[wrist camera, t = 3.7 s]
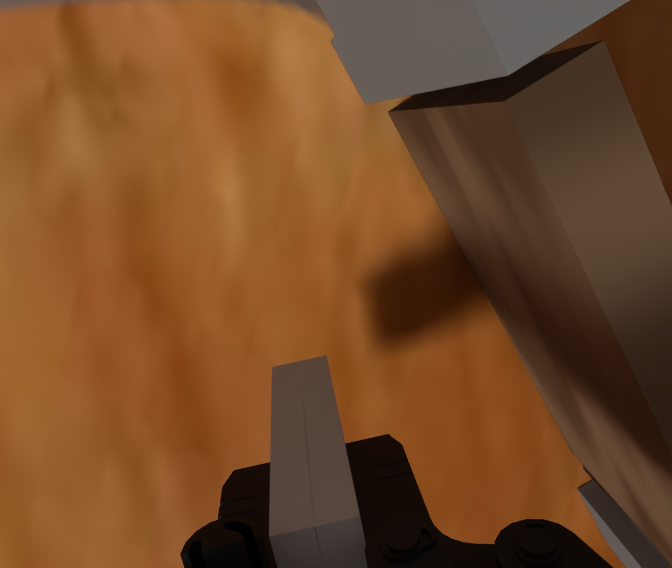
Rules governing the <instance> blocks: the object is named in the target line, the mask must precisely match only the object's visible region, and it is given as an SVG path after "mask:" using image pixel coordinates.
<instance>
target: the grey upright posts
mask: <svg viewBox="0 0 672 568" xmlns="http://www.w3.org/2000/svg"><path fill="white" fill-rule="evenodd" d="M316 1H317V3H318V4H319V6H320V8H321V10H322V12H323V14H324V15H325V17H326V19H327V21H328V23H329V25H330V26H331V28H332V30H333V32H334V34H335V35H334V37H333V38H332V40H331V43H332V45H333V47H334V48H335V50H336V52H337V54H338V56H339V57H340V59H341V61H342V63H343V65H344V67H345V68H346V70H347V72H348V74H349V76H350V77H351V79H352V81H353V83H354V85H355V86H356V88H357V90H358V92H359V94H360V96H361V97H362V99H363V101H364V103H365V104H369V103H374V102H379V101H384V100H389V99H394V98H399V97H404V96H409V95H414V94H419V93H424V92H429V91H434V90H439V89H444V88H448V87H453V86H458V85H463V84H468V83H473V82H478V81H483V80H488V79H493V78H498V77H503V76H508V75H510V74H511V73H513V72H515V71H516V70H518V69H519V68H521V67H523V66H524V65H526V64H528V63H529V62H531V61H532V60H534V59H536V58H537V57H539V56H541V55H542V54H544V53H545V52H547V51H549V50H550V49H552V48H554V47H555V46H557V45H558V44H560V43H562V42H563V41H565V40H566V39H568V38H570V37H571V36H573V35H575V34H576V33H578V32H579V31H581V30H583V29H584V28H586V27H588V26H589V25H591V24H592V23H594V22H596V21H597V20H599V19H601V18H602V17H604V16H605V15H607V14H609V13H610V12H612V11H613V10H615V9H617V8H618V7H620V6H622V5H623V4H625V3H626V2H628V1H630V0H316ZM578 491H579V493H580V495H581V497H582V498H583V500H584V502H585V504H586V506H587V507H588V509H589V511H590V513H591V515H592V516H593V518H594V520H595V522H596V524H597V526H598V527H599V529H600V531H601V533H602V535H603V536H604V538H605V540H606V542H607V544H608V545H609V546H610V547H611V549H612V550H613V551H614V553H615V554H616V555H617V556H618V558H619V559H620V560H621V562H622V563H623V564H624V565H625V567H626V568H670V567H669V565H668V564H667V563H666V562H665V561H664V560H663V559H662V557H661V556H660V555H659V554H658V553H657V552H656V551H655V549H654V548H653V547H652V546H651V545H650V544H649V543H648V542H647V540H646V539H645V538H644V537H643V536H642V535H641V534H640V532H639V531H638V530H637V529H636V528H635V527H634V526H633V525H632V523H631V522H630V521H629V520H628V519H627V518H626V517H625V515H624V514H623V513H622V512H621V511H620V510H619V509H618V507H617V506H616V505H615V504H614V503H613V502H612V501H611V500H610V498H609V497H608V496H607V495H606V494H605V493H604V492H603V490H602V489H601V488H600V487H599V486H598V485H597V484H596V483H595V481H594V480H592V481H590V482H588V483H586V484H585V485H583V486H581V487H579V488H578Z"/></svg>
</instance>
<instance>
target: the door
mask: <svg viewBox="0 0 672 568" xmlns="http://www.w3.org/2000/svg"><path fill="white" fill-rule="evenodd" d="M388 114H389V116H390V117H391V119H392V121H393V123H394V125H395V127H396V128H397V130H398V132H399V134H400V136H401V138H402V140H403V141H404V143H405V145H406V147H407V149H408V151H409V152H410V154H411V156H412V158H413V160H414V162H415V164H416V165H417V167H418V169H419V171H420V173H421V175H422V176H423V178H424V180H425V182H426V184H427V186H428V188H429V189H430V191H431V193H432V195H433V197H434V199H435V200H436V202H437V204H438V206H439V208H440V210H441V212H442V213H443V215H444V217H445V219H446V221H447V223H448V224H449V226H450V228H451V230H452V232H453V234H454V236H455V237H456V239H457V241H458V243H459V245H460V247H461V249H462V250H463V252H464V254H465V256H466V258H467V260H468V261H469V263H470V265H471V267H472V269H473V271H474V273H475V274H476V276H477V278H478V280H479V282H480V284H481V285H482V287H483V289H484V291H485V293H486V295H487V297H488V298H489V300H490V302H491V304H492V306H493V308H494V309H495V311H496V313H497V315H498V317H499V319H500V321H501V322H502V324H503V326H504V328H505V330H506V332H507V333H508V335H509V337H510V339H511V341H512V343H513V345H514V346H515V348H516V350H517V352H518V354H519V356H520V358H521V359H522V361H523V363H524V365H525V367H526V369H527V370H528V372H529V374H530V376H531V378H532V380H533V382H534V383H535V385H536V387H537V389H538V391H539V393H540V394H541V396H542V398H543V400H544V402H545V404H546V406H547V407H548V409H549V411H550V413H551V415H552V417H553V418H554V420H555V422H556V424H557V426H558V428H559V430H560V431H561V433H562V435H563V437H564V439H565V441H566V442H567V444H568V446H569V448H570V450H571V452H572V453H573V454H574V455H575V456H576V458H577V459H578V460H579V461H580V462H581V463H582V464H583V468H584V470H585V471H586V472H587V473H588V475H589V476H590V477H591V478H592V479H593V480H594V481H595V483H596V484H597V485H598V486H599V487H600V488H601V489H602V490H603V492H604V493H605V494H606V495H607V496H608V497H609V498H610V500H611V501H612V502H613V503H614V504H615V505H616V506H617V507H618V509H619V510H620V511H621V512H622V513H623V514H624V515H625V517H626V518H627V519H628V520H629V521H630V522H631V523H632V525H633V526H634V527H635V528H636V529H637V530H638V531H639V532H640V534H641V535H642V536H643V537H644V538H645V539H646V540H647V542H648V543H649V544H650V545H651V546H652V547H653V548H654V549H655V551H656V552H657V553H658V554H659V555H660V556H661V557H662V559H663V560H664V561H665V562H666V563H667V564H668V565H669V567H670V568H672V206H671V203H670V201H669V198H668V196H667V193H666V191H665V188H664V186H663V183H662V181H661V179H660V176H659V174H658V171H657V169H656V166H655V164H654V161H653V159H652V156H651V154H650V152H649V149H648V147H647V144H646V142H645V139H644V137H643V134H642V132H641V129H640V127H639V124H638V122H637V120H636V117H635V115H634V112H633V110H632V107H631V105H630V102H629V100H628V97H627V95H626V93H625V90H624V88H623V85H622V83H621V80H620V78H619V75H618V73H617V70H616V68H615V65H614V63H613V61H612V58H611V56H610V53H609V51H608V48H607V46H606V43H605V41H604V40H602V41H598V42H594V43H590V44H586V45H582V46H578V47H574V48H570V49H566V50H563V51H559V52H555V53H551V54H547V55H543V56H539V57H537V58H536V59H534V60H532V61H531V62H529V63H528V64H526V65H524V66H523V67H521V68H519V69H518V70H516V71H515V72H513V73H511V74H510V75H508V76H503V77H498V78H493V79H488V80H483V81H478V82H473V83H468V84H463V85H458V86H453V87H448V88H444V89H439V90H434V91H429V92H424V93H419V94H416V95H414V96H412V97H411V98H409V99H408V100H406V101H404V102H403V103H401V104H399V105H398V106H396V107H395V108H393V109H391V110H390V111H388Z"/></svg>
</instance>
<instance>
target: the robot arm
mask: <svg viewBox="0 0 672 568" xmlns="http://www.w3.org/2000/svg"><path fill="white" fill-rule="evenodd" d="M180 555H181V558H182V561H183V564H184V567H185V568H613V567H612V566H611V565H610V564H609V563H607V562H606V561H605V560H604V559H603V558H602V557H601V556H599V555H598V554H597V553H596V552H595V551H594V550H593V549H591V548H590V547H589V546H588V545H587V544H586V543H585V542H583V541H582V540H581V539H580V538H579V537H578V536H577V535H575V534H574V533H573V532H572V531H570V530H568V529H567V528H565V527H564V526H562V525H560V524H558V523H554V522H551V521H547V520H544V519H525V520H521V521H518V522H514V523H511V524H510V525H508V526H507V527H506V528H504V529H503V530H501V531H500V533H499V535H498V536H497V538H496V540H495V544H473V543H465V542H461V541H457V540H454V539H451V538H450V537H448V536H446V535H444V534H442V533H441V532H440V531H439V530H438V529H437V527H436V526H434V524H433V522H432V521H431V519H430V516H429V513H428V511H427V508H426V506H425V503H424V500H423V498H422V495H421V493H420V490H419V487H418V485H417V482H416V480H415V477H414V474H413V472H412V469H411V467H410V464H409V462H408V459H407V456H406V454H405V451H404V448H403V446H402V444H401V443H399V442H398V441H397V440H395V439H394V438H393V437H391V436H390V435H389V434H386V435H382V436H377V437H373V438H368V439H364V440H359V441H355V442H351V443H346V444H345V441H344V436H343V431H342V427H341V422H340V417H339V413H338V408H337V403H336V398H335V394H334V389H333V384H332V380H331V375H330V370H329V366H328V361H327V356H321V357H317V358H312V359H307V360H303V361H298V362H294V363H289V364H284V365H280V366H275V367H272V398H271V453H270V462H269V463H264V464H260V465H256V466H251V467H247V468H242V469H238V470H234V471H233V472H232V474H231V475H230V477H229V478H228V479H227V481H226V482H225V484H224V485H223V487H222V493H221V500H220V507H219V514H218V520H216V521H213V522H210V523H208V524H207V525H205V526H204V527H202V528H201V529H199V530H197V531H196V532H195V533H194V534H193V535H192V536H191V537H190V538H189V539H188V540H187V542H186V543H185V545H184V547H183V549H182V551H181V554H180Z"/></svg>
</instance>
